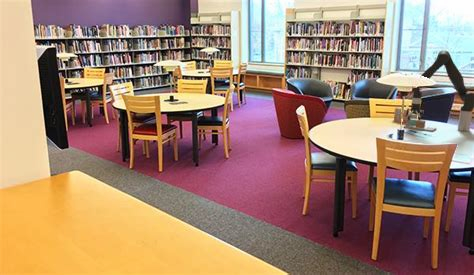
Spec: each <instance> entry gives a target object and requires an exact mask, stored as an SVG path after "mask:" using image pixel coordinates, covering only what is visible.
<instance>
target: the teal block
mask: <svg viewBox="0 0 474 275" xmlns="http://www.w3.org/2000/svg"><path fill="white" fill-rule="evenodd" d="M417 120H419V118H417V119H410V124H409V125H416V121H417Z"/></svg>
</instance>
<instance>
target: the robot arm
mask: <svg viewBox="0 0 474 275" xmlns="http://www.w3.org/2000/svg"><path fill="white" fill-rule="evenodd" d="M443 66H444V68H445V70H446V74H447V77H448V79H449V80H450V83H451V84H452V85H453V87H454V88H455V90H456V92H457V94H458V96H459V98H460V101H462V102H463V105H462V106H460V109H459V117H458V126H457V131H460V132H470V131H471V130H470V129H471V126H472V124H471V123H472V119H473V118H472V116H473V110H474V92H472V91H471V92H470V91H469V90H468V89H467V88H466V85H465V81H464V77H463V75H462V73H461V71H460V70H459V69H458V67H457V66H456V64H455V63H454V61H453V58H452V56H451V54H450V52H449V51H447V50H446V49H445V50H443V49H442V50H441V51H439V52H438V54H437V57H436V59H435V61H434V62H433V63H432V64H431V65H430V66H429V67H427V69H426V70H425V71H424V72H423V73H422V74H421V76H424V77H427V78H429V80H430V79H431V78H432V77H433V75H435V73H436V72H437V71H438V70H439V69H440V68H442V67H443ZM421 76H420V77H421ZM423 88H424V87H417V88H413V87H412V92H413V93H412V99H411V104H410V105H411V107H410V108H406V109H407V113H406V115H408V120H410V115H411V114H417V117H418V119H419V120H422V118H423V117H424V115H425V114H424V113H425V112H424V109H421V105H422V95H423V93H422V91H421V90H420V89H423ZM409 111H410V112H409ZM408 113H410V114H408ZM420 113H421V114H420Z"/></svg>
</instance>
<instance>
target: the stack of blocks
mask: <svg viewBox="0 0 474 275" xmlns="http://www.w3.org/2000/svg"><path fill="white" fill-rule="evenodd" d="M401 108H402V107H394V115H393V121H396V122H399V123H401V122H400V121H401ZM407 109H408V108H404V113H403V122H402V123H403V124H410V120H408V115H406V113H407ZM410 113H411V111H409V113H408V114H410ZM410 119H418V115H417V114H411V115H410Z"/></svg>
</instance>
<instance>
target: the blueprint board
mask: <svg viewBox="0 0 474 275" xmlns="http://www.w3.org/2000/svg"><path fill="white" fill-rule="evenodd" d="M403 128H404V129H409V130H417V131H424V132H431V133H433V132H435V131H437V127H430V126H425V127H424V128H417V127H416V125H409V124H408V123H406V124H405V125H404V126H403Z"/></svg>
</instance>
